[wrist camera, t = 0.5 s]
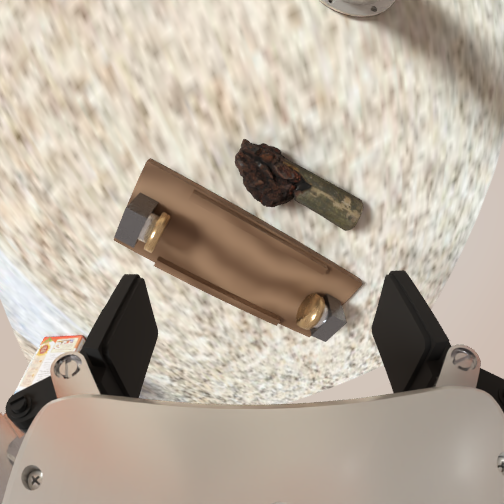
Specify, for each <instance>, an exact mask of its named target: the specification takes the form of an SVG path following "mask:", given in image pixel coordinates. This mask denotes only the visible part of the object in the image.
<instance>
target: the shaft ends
mask: <svg viewBox="0 0 504 504" xmlns="http://www.w3.org/2000/svg"><path fill="white" fill-rule="evenodd" d="M158 203H159V202H157V201H156V200H154V199H152V198H150V197H148V196H146V195H144V194H143V193H141V192H140V193H139V194H138V195H137V196H136V197H135V198H134V199H133V200H132V201H131V203H130V204H129V205H128V206H127V207H126V209H125V211H124V214H123V216H122V219H121V221H120V224H119V227H118V229H117V232H116V234H115V237H114V238H116V239H118V240H120V241H122V242H123V243H125V244H127V245H129V246H131V247H132V248H134V247H135V245H136V244H137V242H138V241H139V240H140V241H142V242H144V243H146V244H145V247H144V250H146V251H148V252H150V253H152V252H153V250H154V249H155V247H156V245H157V243H158V241H159V239H160V237H161V235H162V234H163V232H164V230H165V228H166V226H167V224H168V222H169V220H170V218H171V216H170V215H168V214H167V213H165V212H163V213H162V214H161V216H160V217H159V216H158V215H156V214H154V211H155V209H156V207H157V205H158ZM296 323H297V325H298V326H299V327H302V328H304V329H306V330H309V329H310V331H311V336H313V337H316V338H318V339H320V340H322V341H325V342H326V341H327V340H328V339H329V338H331V337H332V336H333V335H334V334H335V333H336V332H337V331H338V330H339V329H340V328H341V327H342V326H344V325H345V324H346V323H347V322H346V318H345V315H344V312H343V308H342V305H341V302H340V300H338V299H336V298H334V297H333V296H331V295H329V294H327V293H326V295H325V296H324V297H321V296H319V295H318V294H316V293H312V294H310V295H308V296H307V297H306V298H305V299H304V300H303V301H302V303H301V305H300V307H299V309H298V311H297V315H296Z"/></svg>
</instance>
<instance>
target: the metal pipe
mask: <svg viewBox="0 0 504 504" xmlns="http://www.w3.org/2000/svg"><path fill="white" fill-rule="evenodd" d="M235 164H236V166H237V168H238V169H239V172H240V175H241V176H243V184H244V185H245V187H246V189H247V191H249V192H250V193H251V194H252V196H253V197H254V199H256V200H257V201H259V202H261V204H262V205H264V206H265V205H266V207H275V206H278V205H281V204H284V203H287V202H289V201H291V200H292V199H293V198H294V199H295V200H296V201H297V202H299V203H301V204H303V205H304V206H306V207H308V208H309V209H311V210H312V211H314V212H316V213H318V214H319V215H321V216H323V217H324V218H326V219H327V220H329V221H330V222H332V223H334V224H335V225H337V226H339V227H340V228H342V229H343V230H345V231H346V230H350V229H352V228H353V227H354V226H355V225H356V223H357V221H358V219H359V218H360V216H361V213H362V211H363V203H362V200H360V199H359V198H357V197H355V196H353V195H351V194H349V193H347V192H346V191H344V190H342V189H340V188H338V187H337V186H335V185H333V184H331V183H329V182H327V181H325V180H324V179H322V178H320V177H318V176H317V175H315V174H313V173H311V172H309V171H307V170H306V169H304V168H302V167H300V166H298V165H296V164H294V163H293V162H291V161H289V160H287V159H285V158H284V157H283V156H282V155H281V151H280V150H279V149H277V148H275V147H271V146H268V145H266V144H264V143H262V144H260V145H256V144H252V143H250V142H249V141H248V140H246V139H243V142H242V144H241V149H240V151H239V152H238V153H237V154H236V156H235Z"/></svg>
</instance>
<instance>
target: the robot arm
mask: <svg viewBox="0 0 504 504" xmlns="http://www.w3.org/2000/svg"><path fill="white" fill-rule="evenodd" d="M319 1H320V2H322V3H323V4H325V5H326V6H327V7H329V8H331V9H333V10H335V11H337V12H340V13H343V14H346V15H350V16H355V17H367V16H374V15H377V14H380V13H382V12H384V11H385V10H387V9H388V8H389V7H391V6H392V4H393V3H394V2H395V0H330V1H331V2H332V3H329V2H328V0H319ZM371 9H373V11H372V10H371ZM372 334H373V337H374V340H375V342H376V345H377V348H378V350H379V353H380V356H381V358H382V361H383V364H384V367H385V369H386V372H387V375H388V378H389V380H390V383H391V386H392V389H393V392H394V393H393V394H386V395H380V396H372V397H366V398H356V399H348V400H338V401H328V402H314V403H298V404H271V405H228V404H201V403H185V402H172V401H161V400H150V399H140V398H139V395H140V391H141V388H142V385H143V381H144V378H145V375H146V372H147V369H148V365H149V362H150V359H151V356H152V353H153V350H154V347H155V344H156V341H157V337H158V329H157V325H156V322H155V318H154V315H153V311H152V307H151V304H150V300H149V296H148V292H147V288H146V284H145V281H144V279H143V278H140V276H139V275H138V274H125V275H124V276H123V277H122V279H121V280H120V282H119V284H118V285H117V287H116V289H115V290H114V292H113V294H112V295H111V297H110V299H109V301H108V302H107V304H106V306H105V307H104V309H103V310H102V312H101V314H100V315H99V317H98V319H97V321H96V323H95V324H94V326H93V328H92V330H91V332H90V333H89V335H88V337H87V339H86V341H85V343H84V345H83V347H82V349H81V350H80V352H75V351H69V352H65V353H63V354H61V355H59V356H58V357H57V358H56V359H55V360H54V361H53V363H52V364H51V368H50V374H51V376H49V377H47V378H45V379H43V380H41V381H39V382H37V383H35V384H33V385H31V386H29V387H27V388H25V389H23V390H21V391H19V392H17V393H15V394H14V395H12V396H11V397H10V399H9V400H8V402H7V405H6V413H5V414H4V415H3V414H2V413H0V504H504V379H502V378H500V377H498V376H496V375H494V374H491V373H489V372H487V371H485V370H483V369H481V368H480V366H481V361H480V358H479V356H478V354H477V353H476V352H475V351H474V350H473V349H472V348H470V347H468V346H465V345H455V346H452V347H451V345H450V343H449V339H448V338H447V336H446V334H445V333H444V331H443V329H442V327H441V326H440V324H439V322H438V321H437V319H436V318H435V316H434V314H433V313H432V311H431V309H430V308H429V306H428V305H427V303H426V301H425V300H424V298H423V297H422V295H421V294H420V292H419V291H418V289H417V288H416V286H415V285H414V283H413V282H412V280H411V279H410V277H409V276H408V274H407V273H406V272H405V271H391V272H390V273H389V275H386V277H385V280H384V284H383V288H382V292H381V296H380V300H379V303H378V307H377V311H376V314H375V318H374V321H373V325H372Z"/></svg>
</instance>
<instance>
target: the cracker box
mask: <svg viewBox="0 0 504 504" xmlns="http://www.w3.org/2000/svg"><path fill="white" fill-rule="evenodd" d="M85 341H86V340H85V338H84V337H83V336H82V335H79V336H60V337H45V338H44V339H43V341H42V343H41V344H40V346H39V348H38V349H37V351H36V353H35V355H34V357H33V358H32V360H31V362H30V364H29V366H28V368H27V370H26V371H25V373H24V375H23V377H22V379H21V381H20V383H19V385H18V387H17V389H16V391H15V393H17V392H19V391H21V390H23V389H25V388H27V387H29V386H31V385H33V384H35V383H37V382H39V381H41V380H43V379H45V378H47V377H49V376H51V374H50V368H51V364H52V363H53V361H54V360H55V359H56V358H57V357H58V356H59V355H61V354H63V353H65V352H69V351H75V352H80V350H81V349H82V347H83V345H84V343H85ZM15 393H14V394H15Z"/></svg>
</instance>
